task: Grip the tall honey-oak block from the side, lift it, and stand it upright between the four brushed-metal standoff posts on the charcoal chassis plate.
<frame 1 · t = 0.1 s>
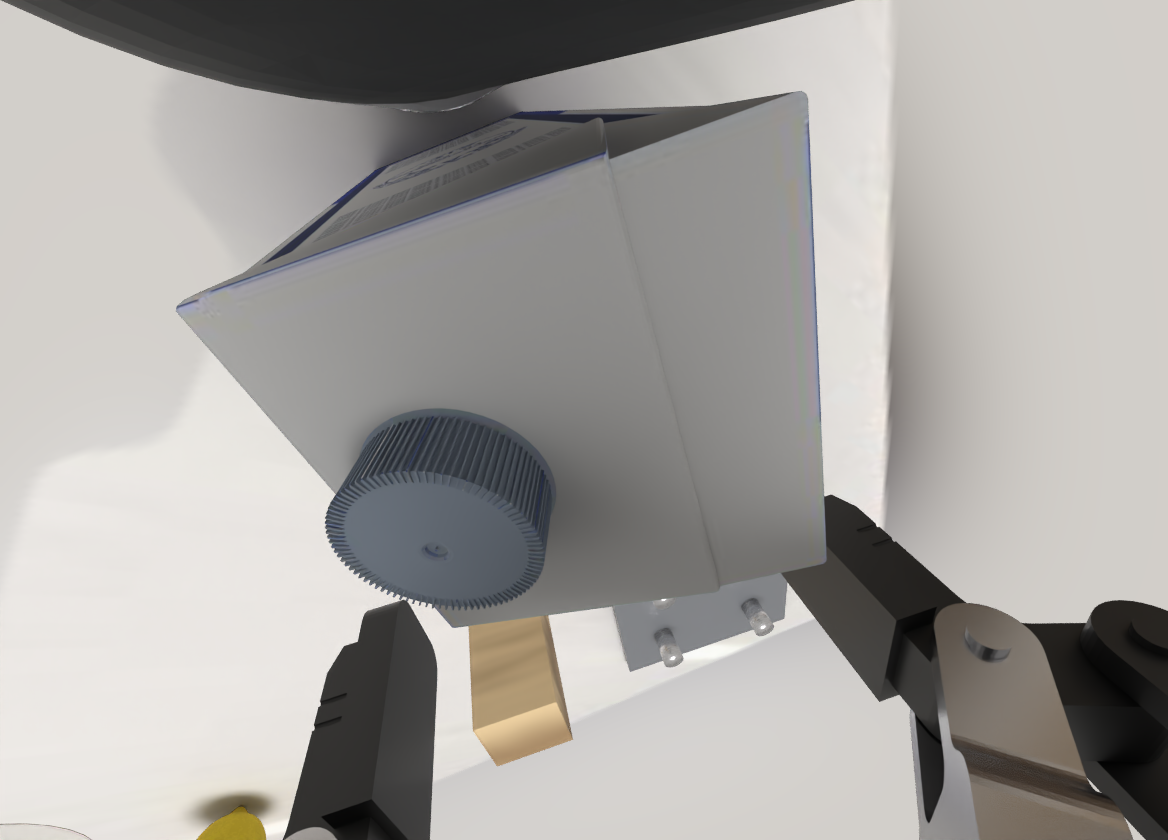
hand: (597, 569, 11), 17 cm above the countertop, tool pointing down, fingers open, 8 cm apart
oak block: (502, 553, 34), on the countertop
lemon: (241, 804, 42), on the countertop
milk carton: (482, 219, 23), on the countertop
chassis: (699, 581, 41), on the countertop
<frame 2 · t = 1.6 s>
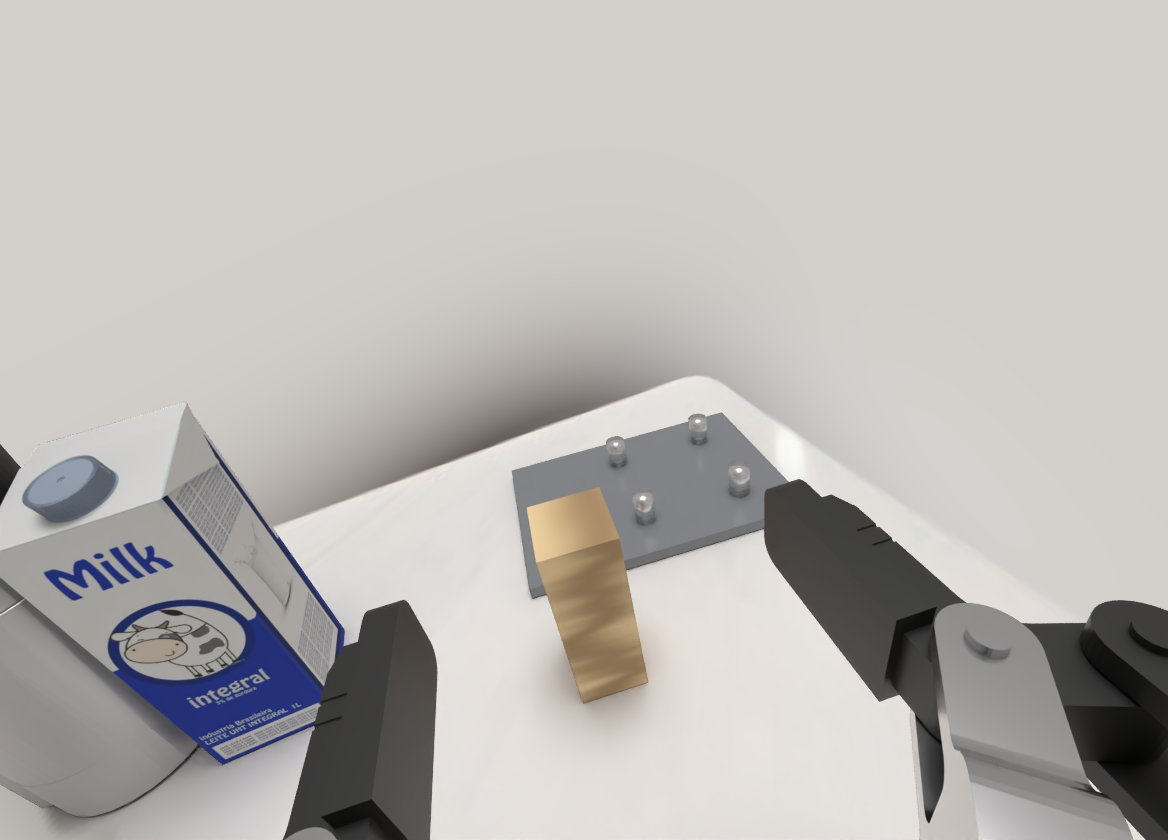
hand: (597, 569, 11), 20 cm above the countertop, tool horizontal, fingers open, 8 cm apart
oak block: (607, 662, 30), on the countertop
milk carton: (291, 691, 33), on the countertop
chassis: (675, 484, 43), on the countertop
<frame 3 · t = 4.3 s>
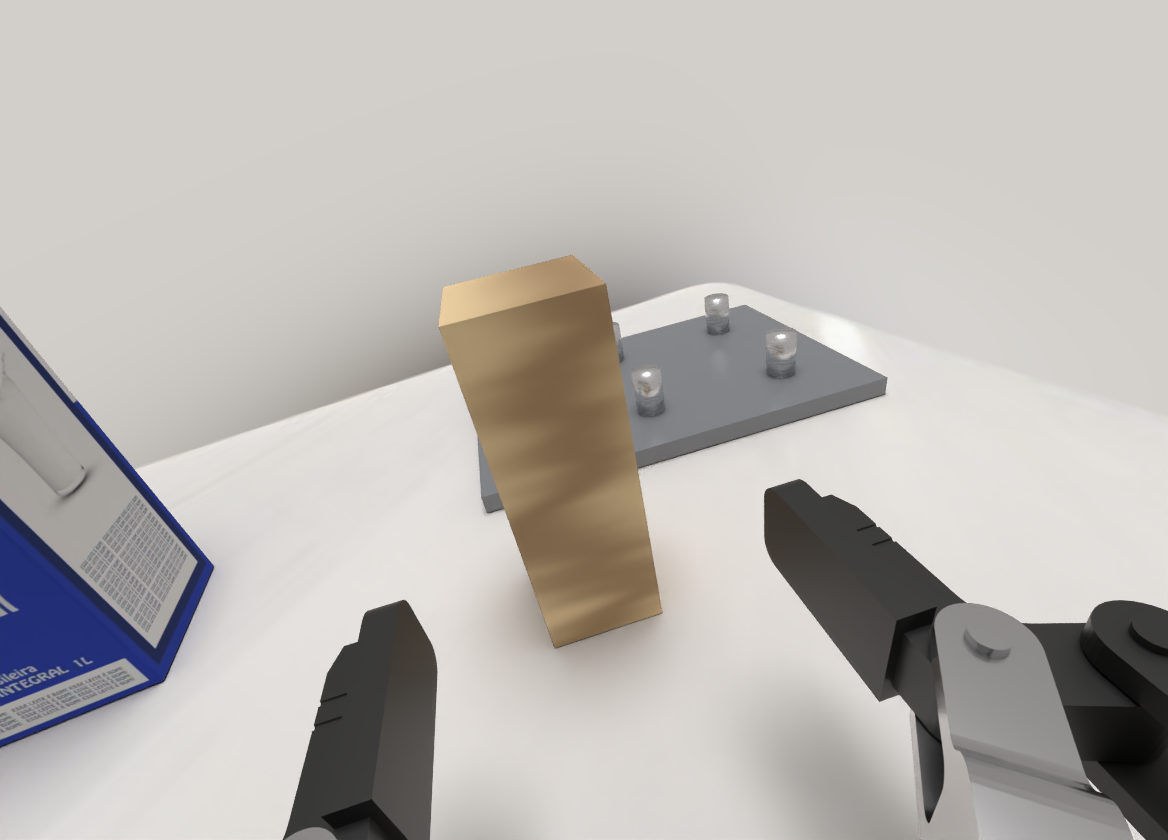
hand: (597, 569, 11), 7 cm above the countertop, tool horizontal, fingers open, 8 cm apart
oak block: (595, 587, 19), on the countertop
milk carton: (112, 651, 21), on the countertop
chassis: (690, 379, 32), on the countertop
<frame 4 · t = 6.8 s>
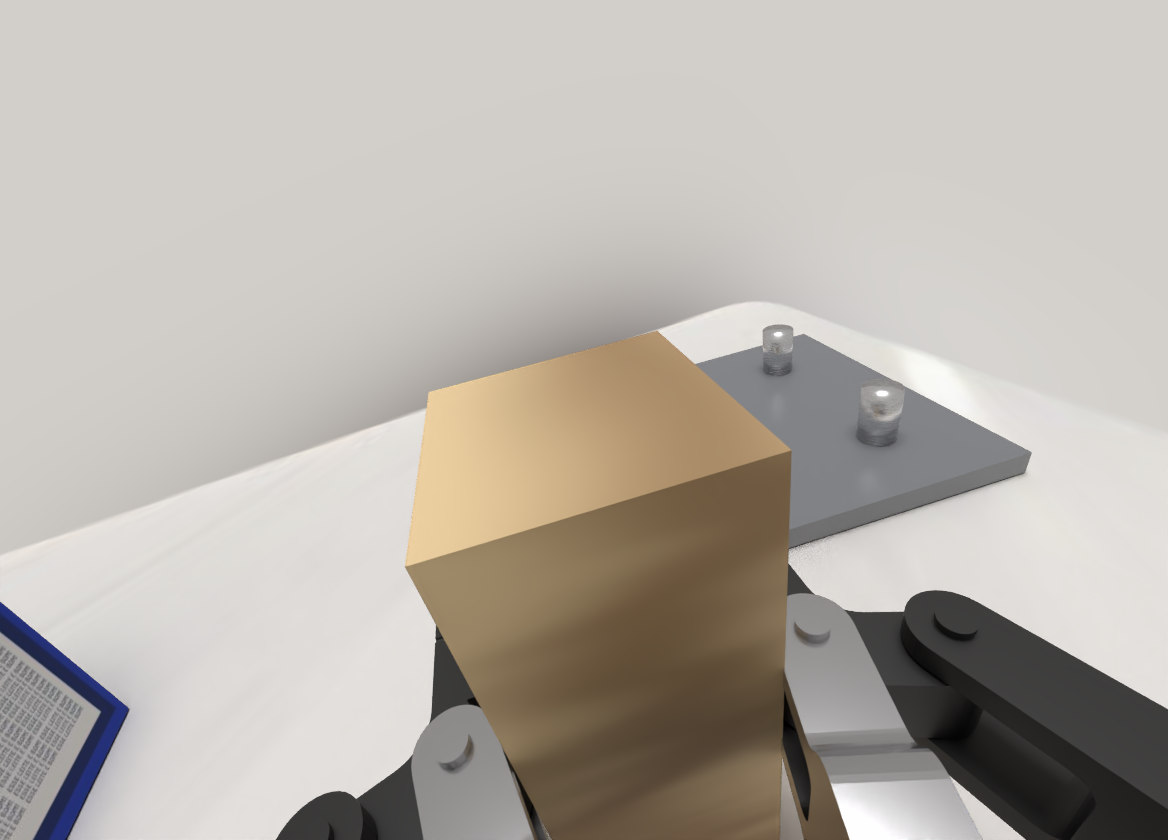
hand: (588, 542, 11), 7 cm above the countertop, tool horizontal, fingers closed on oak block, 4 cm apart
oak block: (663, 810, 13), on the countertop, touching gripper
chassis: (749, 435, 26), on the countertop
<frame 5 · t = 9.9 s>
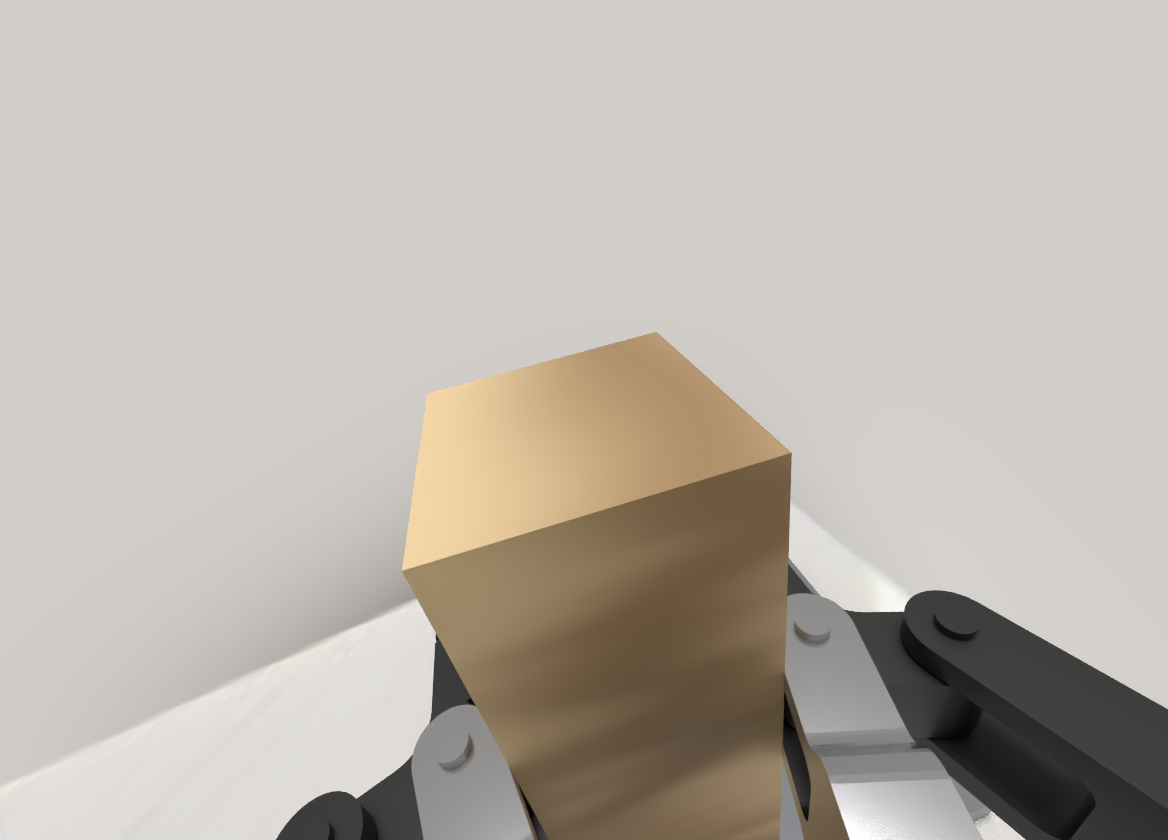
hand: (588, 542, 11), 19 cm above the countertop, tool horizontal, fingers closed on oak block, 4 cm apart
oak block: (663, 812, 13), point 12 cm above the countertop, touching gripper
chassis: (723, 705, 26), on the countertop
when the fingers open (9 cm above the countertop, at t = 13.4 s): oak block stays where it is, resting on chassis.
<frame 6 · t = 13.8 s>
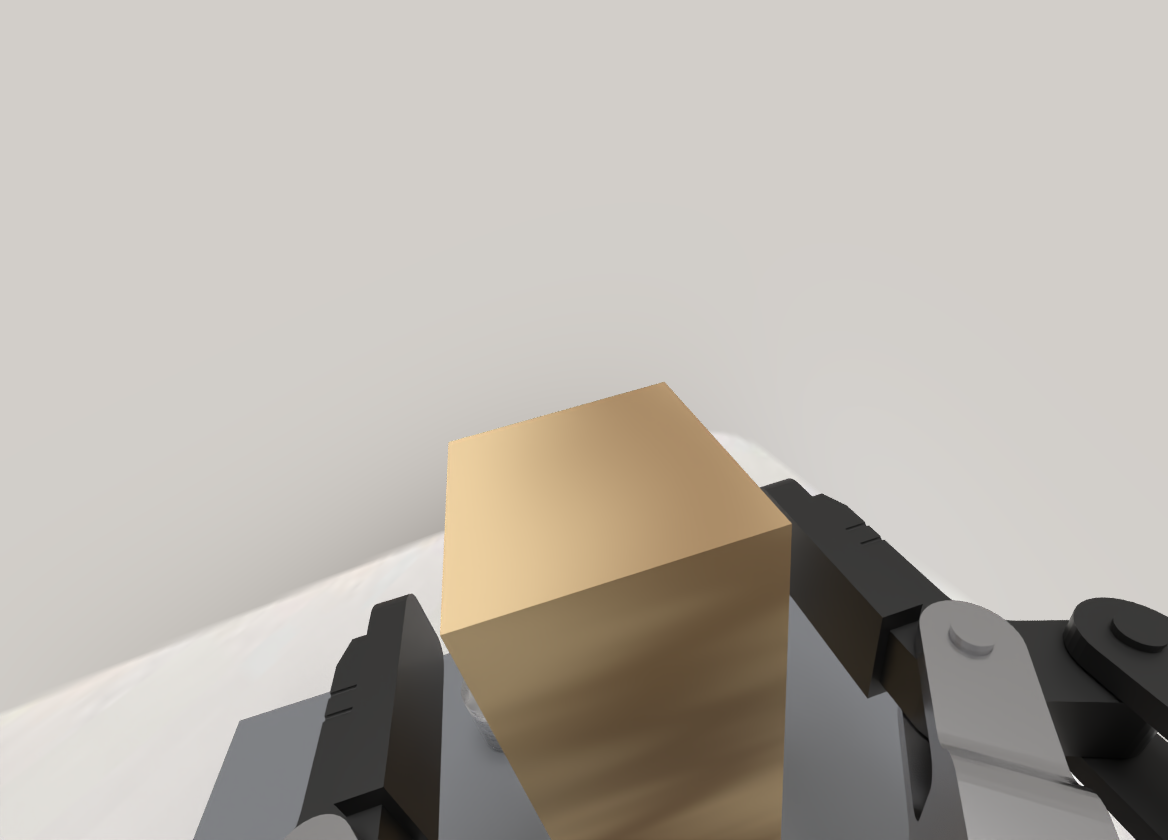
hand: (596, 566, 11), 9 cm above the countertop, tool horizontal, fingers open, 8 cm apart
oak block: (668, 827, 13), point 1 cm above the countertop, touching chassis
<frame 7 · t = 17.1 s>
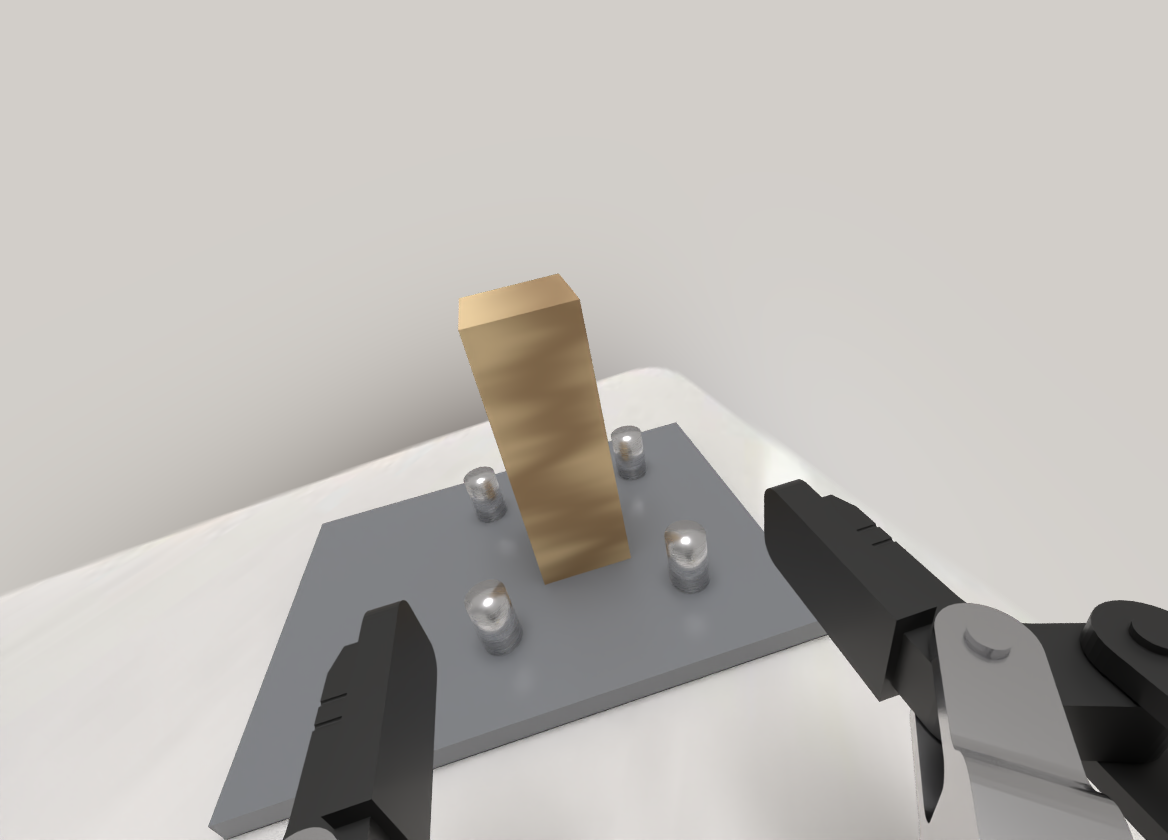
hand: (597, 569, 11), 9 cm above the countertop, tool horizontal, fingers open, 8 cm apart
oak block: (579, 540, 23), point 1 cm above the countertop, touching chassis
chassis: (582, 555, 24), on the countertop
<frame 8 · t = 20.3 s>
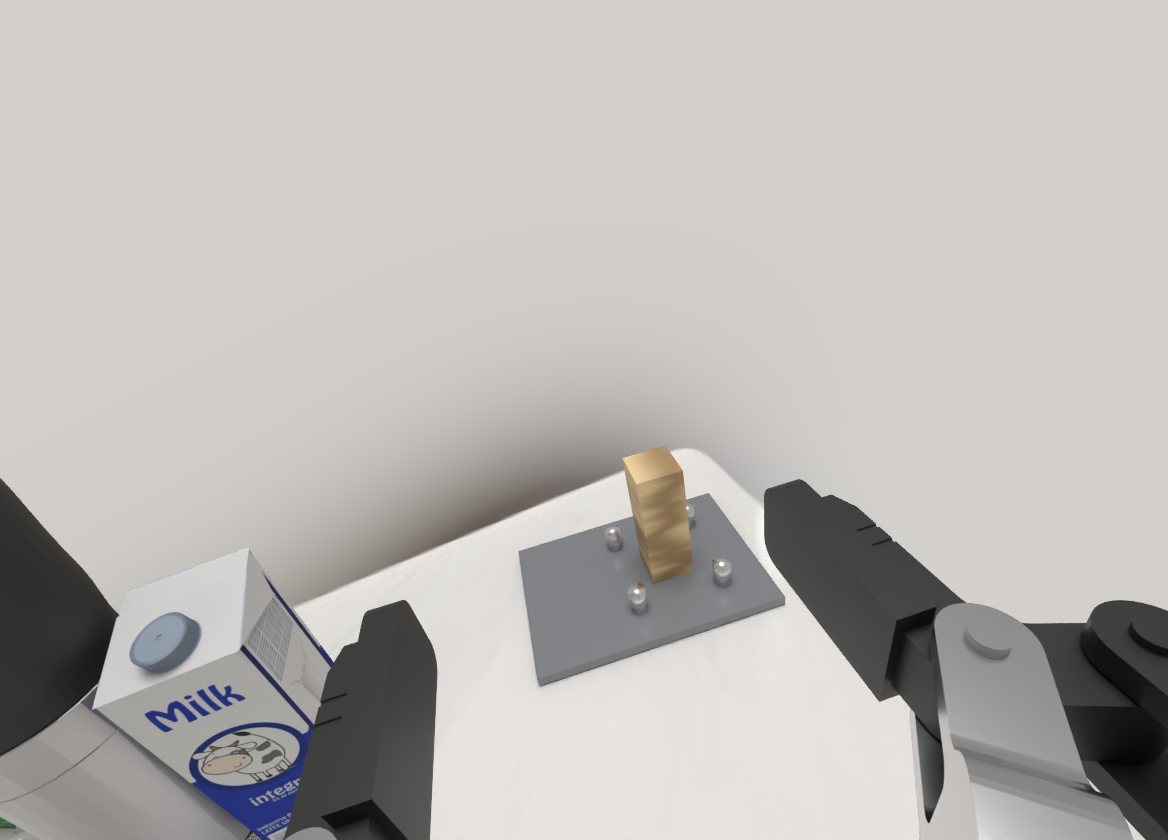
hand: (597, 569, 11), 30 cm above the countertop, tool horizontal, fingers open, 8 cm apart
oak block: (666, 562, 48), point 1 cm above the countertop, touching chassis
milk carton: (330, 777, 38), on the countertop
chassis: (666, 569, 48), on the countertop
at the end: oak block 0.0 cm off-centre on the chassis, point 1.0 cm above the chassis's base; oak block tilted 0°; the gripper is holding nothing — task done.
